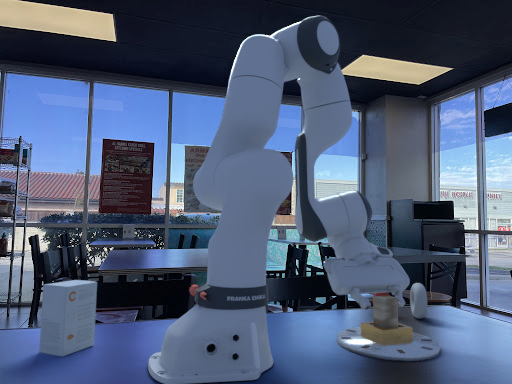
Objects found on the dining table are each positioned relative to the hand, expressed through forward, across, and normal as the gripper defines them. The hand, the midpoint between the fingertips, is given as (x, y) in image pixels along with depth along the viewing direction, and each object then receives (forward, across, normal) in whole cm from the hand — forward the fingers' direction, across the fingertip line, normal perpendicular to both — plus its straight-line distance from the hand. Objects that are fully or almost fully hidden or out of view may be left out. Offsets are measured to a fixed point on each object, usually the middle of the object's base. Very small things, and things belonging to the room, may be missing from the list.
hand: (384, 306), depth 86 cm
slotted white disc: (+6, 0, +5) cm, 8 cm away
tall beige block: (+5, 0, +4) cm, 7 cm away
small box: (-6, -64, +18) cm, 67 cm away
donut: (-7, +27, +18) cm, 33 cm away
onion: (-12, +20, +23) cm, 33 cm away
